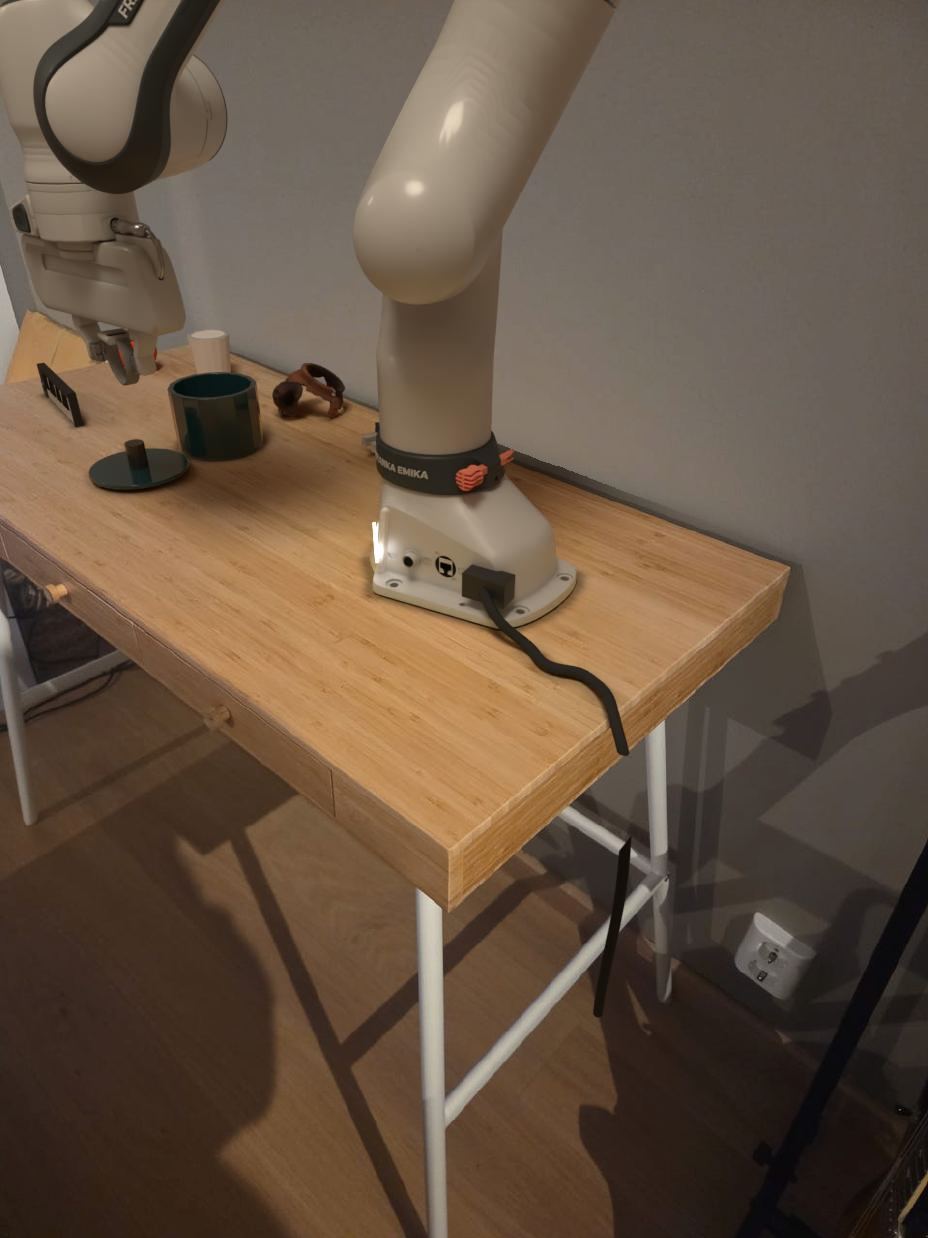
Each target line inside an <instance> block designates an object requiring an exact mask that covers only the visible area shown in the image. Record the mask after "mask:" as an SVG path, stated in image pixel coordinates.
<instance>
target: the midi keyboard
mask: <svg viewBox="0 0 928 1238" xmlns="http://www.w3.org/2000/svg"><path fill="white" fill-rule="evenodd" d="M36 369H37V371H38V375H39V377H40V383H41V387H42V391H43V394H44V396H45V397H46V398H47V399H50V400H51V401H52V402H53V404H54V405H55V406H57V407H58V409H59V410H61V412H62V413H63V414H64V415H65V416H66V417H67V418H68V420H70V421H71V422H72V423H73V424H74V427H75V428H79V427H83V426H84V425H85V424H84V420H83V417H82V412H81V409H80V404H79V401H78V397H77V396H78V395H77V393H76V391H75V390H73V388H71V386H69V384H67V383H66V382H65V381H64V380H63V379H62V378H61V377H60V376H59V375H58V374H57V373H56V372H55V371H53V369H52V368H51V367H49V366H48V365H47V364H46V363H45V362H38V363H36Z"/></svg>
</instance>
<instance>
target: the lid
mask: <svg viewBox="0 0 928 1238" xmlns="http://www.w3.org/2000/svg"><path fill="white" fill-rule="evenodd" d="M123 445H124V451H120V452H116V453H113V454H110V455H107V456H105V457H102V458H100V459H99V460H97V461H96V462H94V463H93V464H92V465H91V466H90V468H89V470H88V476H89V480H90V481H91V482H92V483H93V484H95V485H96V486H99V487H102V488H106V489H111V490H140V489H146V488H153V487H157V486H161V485H164V484H167V483H170V482H173V481H175V480H177V479H179V478H180V477H181V476H183V475H184V474H185V473H186V472H187V471H188V470H189V467H190V464H189V459H188V457H187V456H185V455H183V454H182V453H181V452H180V451H177V450H172V449H167V448H159V447H157V448H156V447H154V448H153V447H152V448H151V447H147V448H146V445H145V441H144V440H143V439H139V438H133V439H129V440H127V441H124V443H123Z"/></svg>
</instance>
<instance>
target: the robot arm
mask: <svg viewBox="0 0 928 1238" xmlns="http://www.w3.org/2000/svg"><path fill="white" fill-rule="evenodd" d="M226 1H227V0H99V1H98V2H97V4H96V5H95V6H94V5H93V4H92V3H91V2H90V1H89V0H6V1H3V2H2V3H1V5H0V91H1V94H2V98H3V102H4V107H5V111H6V114H7V117H8V121H9V124H10V127H11V128H12V131H13V132H14V135H15V136H16V138H17V141H18V143H19V145H20V148H21V151H22V158H23V175H24V176H23V177H24V181H25V186H26V189H27V194H25V195H24V197H22V198H21V199H20V200H19V201H17V202H16V203H14V204H13V205H11V206H9V208H8V216H9V220H10V222H11V225H12V229H13V230H14V231H15V232H17V233H19V234H22V235H21V237H20V240H21V241H20V244H21V249H22V253H23V257H24V260H25V264H26V267H27V270H28V273H29V276H30V280H31V282H32V286H33V288H34V290H35V291H34V292H35V293H36V296H37V297H38V299H39V300H40V302H41V303H42V304H43V306H44V307H45V308H46V309H49V310H53V311H57V312H61V313H65V314H68V315H71V319H72V323H73V326H74V327H75V329H76V330H77V332H78V334H79V336H80V338H81V339H82V341H83V342H84V344H85V346H86V350H87V355H88V357H89V359H90V360H92V361H95V362H99V363H104V362H108V359H107V356H106V351H105V346H104V341H102V340H101V339H99V338H98V337H97V333H98V332H101V331H102V330H101V328H100V325H99V323H102V324H105V325H110V326H114V327H118V328H123V329H125V330H128V332H129V336H130V339H131V340H133V341H134V355H130V356H129V358H130V363H131V364H132V370H133V372H135V373H137V374H140V376H143V377H145V376H149V375H152V374H155V373H156V372H157V365H156V360H155V359H154V352H155V348H157V343H158V338H159V337H160V336H165V335H168V334H173V333H176V332H180V331H181V330H183V329H184V327H185V323H186V320H187V315H186V314H187V313H186V309H185V305H184V300H183V297H182V293H181V289H180V286H179V282H178V278H177V275H176V271H175V268H174V265H173V263H172V260H171V258H170V257H171V256H170V255H169V252H167V250H166V249H165V247H164V246H163V244H162V241H161V240H160V238H158V237H157V236H156V235H155V233H154V232H153V231H152V230H151V227H150V226H149V225H148V224H146V223H144V222H141V220H140V216H139V211H138V206H137V201H136V196H135V191H137V190H139V189H140V188H143V187H145V186H147V185H149V184H151V183H153V182H155V181H158V180H162V179H167V178H170V177H171V178H172V177H175V176H178V175H180V174H183V173H187V172H190V171H193V170H196V169H198V168H200V167H202V166H203V165H205V164H206V163H208V162H210V161H211V160H212V159H213V158H214V157H216V155H218V152H219V151H220V150H221V148H222V146H223V145H224V142H225V139H226V135H227V130H228V107H227V103H226V99H225V95H224V93H223V90H222V87H221V84H220V83H219V81H218V79H217V78H216V76H215V74H214V73H213V72H212V70H211V69H210V68H209V66H208V65H207V64H206V63H205V62H204V61H203V60H202V59H200V58H199V57H198V56H197V55H195V53H196V52H197V49H198V47H199V46H200V44H201V42H203V40H204V38H205V36H206V34H207V32H208V31H209V29H210V28H211V26H212V24H213V23H214V21H215V20H216V18H217V16H218V15H219V13H220V11H221V9H222V8H223V6H224V4H226ZM621 1H622V0H453V2H452V5H451V7H450V10H449V12H448V14H447V18H446V19H445V21H444V24H443V26H442V28H441V30H440V33H439V35H438V37H437V40H436V41H435V44H434V46H433V48H432V50H431V52H430V54H429V56H428V58H427V59H426V61H425V64H424V65H423V66H422V69H421V71H420V73H419V75H418V77H417V78H416V81H415V83H414V85H413V87H412V88H411V90H410V92H409V94H408V96H407V98H406V100H405V102H404V104H403V106H402V108H401V110H400V112H399V114H398V116H397V118H396V120H395V122H394V124H393V126H392V128H391V130H390V132H389V133H388V137H387V138H386V141H385V143H384V145H383V147H382V149H381V151H380V153H379V155H378V158H377V159H376V162H375V164H374V166H373V168H372V170H371V173H370V174H369V177H368V179H367V180H366V183H365V185H364V188H363V189H362V192H361V195H360V197H359V199H358V202H357V205H356V207H355V212H354V217H353V224H352V242H353V248H354V254H355V256H356V259H357V262H358V265H359V266H360V268H361V270H362V272H363V274H364V276H365V277H366V278H367V280H368V281H369V282H370V283H371V285H373V286H374V288H376V289H377V290H378V291H379V292H380V293H382V297H381V298H382V299H381V311H380V312H381V313H380V323H379V334H378V341H377V347H376V357H375V359H376V380H377V381H376V382H377V397H378V398H377V402H378V422H379V425H380V430H379V431H378V433H377V435H376V450H375V453H374V455H375V456H374V457H375V462H376V471H377V473H378V475H380V488H379V489H380V490H379V501H378V504H379V505H378V514H377V522H376V521H375V522H374V521H373V522H372V532H373V533H372V534H373V545H372V549H371V552H370V555H369V564H370V567H371V569H372V571H373V573H374V574H373V576H372V585H371V586H372V587H371V589H372V592H373V593H375V594H377V595H379V596H382V597H387V598H390V599H392V600H396V601H400V602H404V603H407V604H410V605H413V606H417V607H420V608H424V609H427V610H431V611H434V612H438V613H441V614H445V615H447V616H451V617H455V618H458V619H461V620H464V621H468V622H471V623H475V624H478V625H482V626H485V627H489V628H493V629H497V630H500V631H501V632H502V633H503V634H504V635H505V636H506V637H508V638H509V639H510V640H511V641H513V642H514V643H515V644H517V645H518V646H519V647H520V648H521V649H522V650H524V651H525V652H526V653H527V654H528V655H529V657H530V658H531V659H532V660H533V662H534V663H535V664H536V665H537V666H538V667H540V668H541V669H543V670H545V671H547V672H549V673H551V674H555V675H560V676H565V677H571V678H575V679H579V680H581V681H583V682H584V683H585V684H586V685H588V686H589V687H590V688H592V689H593V690H594V691H595V692H596V694H598V696H599V697H600V698H601V701H602V702H603V704H604V707H605V711H606V714H607V719H608V723H609V727H610V731H611V734H612V738H613V741H614V745H615V750H616V753H617V754H618V755H620V756H621V757H628V756H629V755H630V749H629V748H630V747H629V745H628V741H627V738H626V733H625V729H624V727H623V722H622V719H621V714H620V711H619V706H618V704H617V701H616V698H615V695H614V694H613V692H612V691H611V689H610V688H609V686H608V685H607V684H606V683H605V682H603V680H601V679H600V678H599V677H598V676H596V675H595V674H593V673H592V672H591V671H589V670H587V669H585V668H582V667H579V666H576V665H571V664H565V663H559V662H556V661H553V660H550V659H548V658H547V657H546V656H545V655H544V654H543V653H542V651H541V650H540V649H539V648H538V647H537V646H536V644H535V643H533V642H532V641H531V640H530V639H529V638H528V637H526V636H525V635H524V634H522V633H521V632H520V631H519V630H518V629H516V627H520V626H523V625H527V624H529V623H531V622H533V621H536V620H538V619H540V618H542V617H543V616H545V615H546V614H548V613H549V612H551V611H552V610H554V609H555V608H556V607H558V606H559V605H560V604H561V603H563V602H564V601H565V600H566V599H567V598H568V597H569V596H570V595H571V593H572V592H573V591H574V588H575V586H576V584H577V567H576V566H575V565H573V564H572V563H570V562H569V561H567V560H564V559H563V558H560V556H557V543H556V536H555V531H554V528H553V526H552V524H551V522H550V520H549V519H548V518H547V517H546V516H544V515H543V514H542V512H540V511H539V510H538V508H537V507H536V506H535V505H534V504H533V503H532V502H531V500H529V499H528V497H527V496H525V494H524V493H523V492H522V491H521V490H520V489H519V487H517V486H516V485H515V483H513V481H512V480H511V479H510V478H509V477H508V476H507V475H506V467H505V465H506V464H509V463H510V462H511V461H513V460H514V457H511V456H512V455H513V453H514V452H515V449H514V448H511V449H508V450H506V451H505V452H503V453H501V451H500V448H499V444H498V441H497V437H496V436H495V433H494V432H493V429H492V424H493V423H492V422H493V420H492V419H493V418H492V417H493V393H494V392H493V391H494V361H495V346H496V335H497V334H496V333H497V332H496V331H497V321H498V308H499V295H500V281H501V266H502V265H501V263H502V252H503V251H502V249H503V248H502V247H503V231H504V227H505V225H506V224H507V222H508V220H509V217H510V216H511V214H512V212H513V209H514V208H515V206H516V204H517V202H518V200H519V199H520V196H521V194H522V192H523V191H524V189H525V187H526V186H527V184H528V181H529V179H530V177H531V176H532V174H533V171H534V169H535V168H536V165H537V164H538V162H539V159H540V158H541V156H542V154H543V152H544V150H545V148H546V146H547V144H548V142H549V141H550V139H551V137H552V135H553V133H554V131H555V129H556V128H557V126H558V123H559V121H560V120H561V117H562V116H563V114H564V112H565V110H566V108H567V106H568V105H569V102H570V100H571V98H572V96H573V94H574V92H575V91H576V89H577V87H578V85H579V82H580V81H581V79H582V77H583V75H584V73H585V72H586V69H587V68H588V65H589V64H590V62H591V59H592V58H593V56H594V54H595V52H596V50H597V47H599V44H600V42H601V41H602V39H603V37H604V35H605V33H606V31H607V28H608V27H609V25H610V23H611V21H612V20H613V18H614V15H615V13H616V10H618V7H619V5H620V3H621ZM376 523H377V524H376ZM632 837H633V835H630V836H629V837H628V838H627V840H626V841H625V843H624V844H622V846H621V847H620V849H619V850H618V858H617V868H616V869H617V870H616V878H615V886H614V894H613V900H612V907H611V913H610V918H609V923H608V928H607V934H606V939H605V943H604V948H603V953H602V958H601V962H600V968H599V972H598V976H597V978H598V979H597V983H596V988H595V995H594V1002H593V1008H592V1015H593V1016H594V1017H595V1018H598V1019H599V1018H602V1016H603V1015H604V1009H605V1003H606V997H607V992H608V986H609V981H610V976H611V971H612V967H613V961H614V957H615V953H616V948H617V944H618V940H619V939H618V938H619V935H620V934H619V933H620V930H621V924H622V920H623V915H624V910H625V904H626V897H627V890H628V884H629V876H630V865H631V854H632Z"/></svg>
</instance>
